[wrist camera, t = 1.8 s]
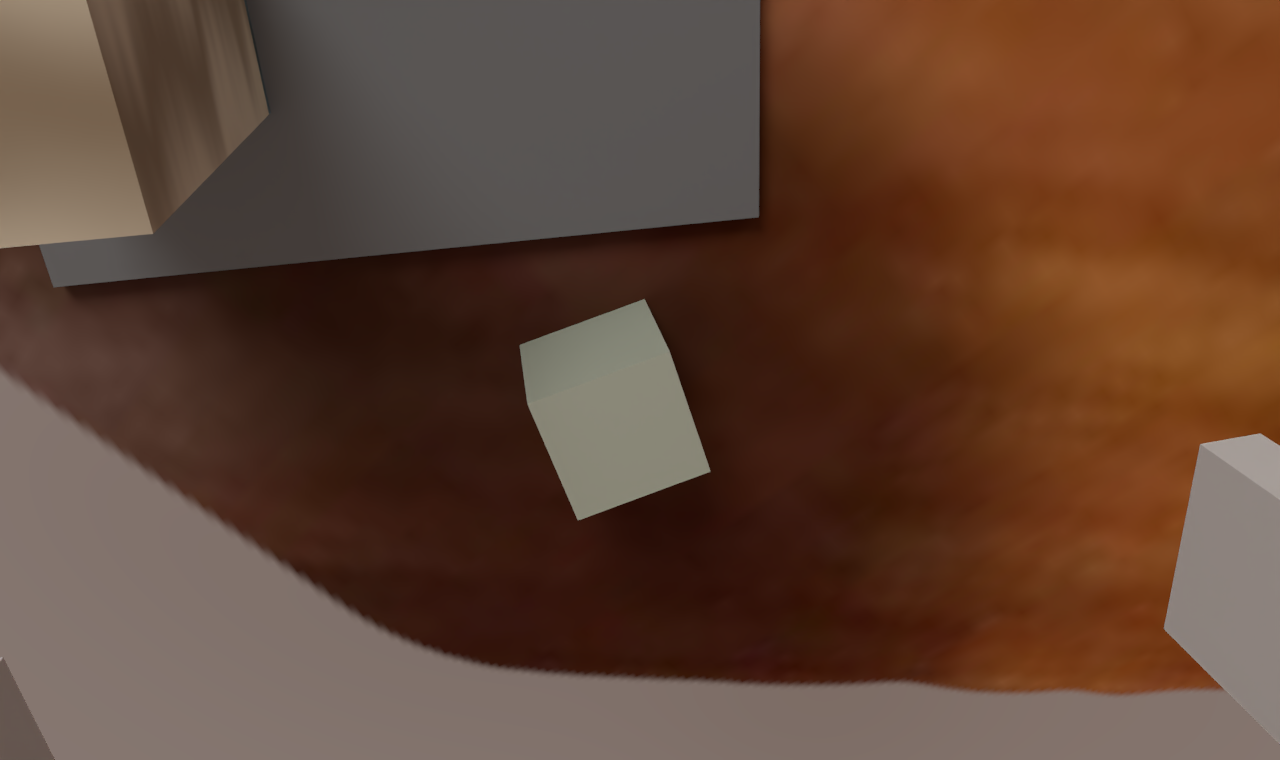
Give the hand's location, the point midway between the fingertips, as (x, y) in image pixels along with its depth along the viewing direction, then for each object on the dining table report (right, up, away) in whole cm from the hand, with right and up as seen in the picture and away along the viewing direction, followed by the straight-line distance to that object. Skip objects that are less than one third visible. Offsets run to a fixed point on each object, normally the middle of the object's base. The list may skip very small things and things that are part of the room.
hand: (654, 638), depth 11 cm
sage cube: (-2, +3, +26) cm, 27 cm away
